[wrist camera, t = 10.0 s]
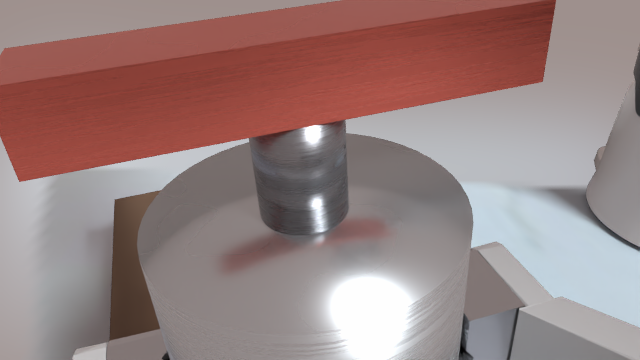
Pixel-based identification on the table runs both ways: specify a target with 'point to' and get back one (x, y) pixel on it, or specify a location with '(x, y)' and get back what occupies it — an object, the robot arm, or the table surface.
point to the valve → (283, 166)
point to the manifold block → (130, 271)
